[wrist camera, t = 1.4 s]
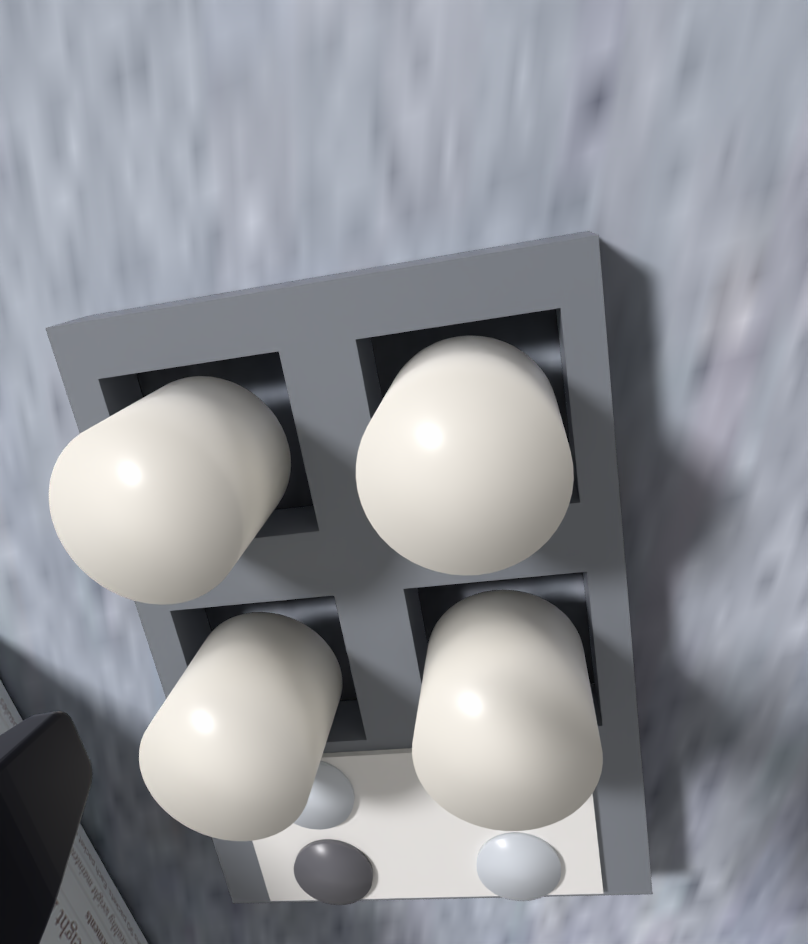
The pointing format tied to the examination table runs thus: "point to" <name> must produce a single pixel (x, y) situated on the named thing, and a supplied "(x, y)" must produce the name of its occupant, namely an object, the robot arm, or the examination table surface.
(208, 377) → the button
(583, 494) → the button board
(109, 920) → the supplement box
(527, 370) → the button
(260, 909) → the examination table surface
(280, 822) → the button
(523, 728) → the button
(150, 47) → the examination table surface
